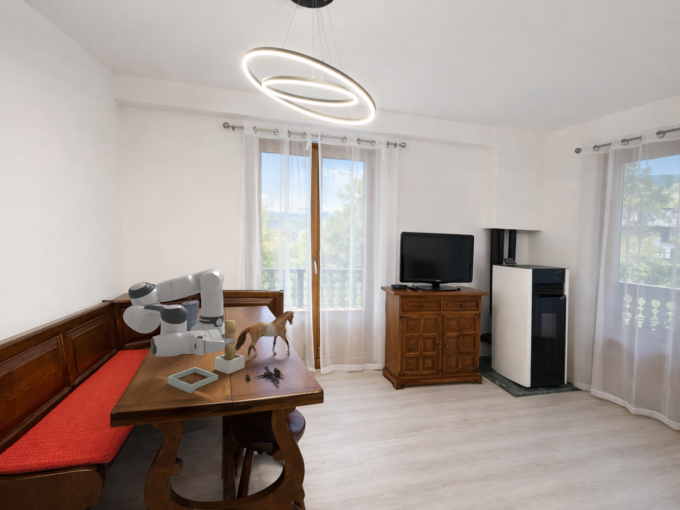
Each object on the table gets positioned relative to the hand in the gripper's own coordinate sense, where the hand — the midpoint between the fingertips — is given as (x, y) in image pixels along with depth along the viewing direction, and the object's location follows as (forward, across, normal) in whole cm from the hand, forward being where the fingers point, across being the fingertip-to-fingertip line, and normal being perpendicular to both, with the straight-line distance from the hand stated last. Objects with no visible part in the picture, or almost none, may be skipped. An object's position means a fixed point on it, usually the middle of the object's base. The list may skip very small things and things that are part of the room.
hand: (232, 337), depth 142 cm
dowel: (-1, 0, -11) cm, 11 cm away
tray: (-16, +6, -14) cm, 22 cm away
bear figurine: (+10, +14, -15) cm, 23 cm away
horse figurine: (+17, -13, -14) cm, 26 cm away
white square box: (-1, 0, -14) cm, 14 cm away
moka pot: (-10, -70, -14) cm, 72 cm away
